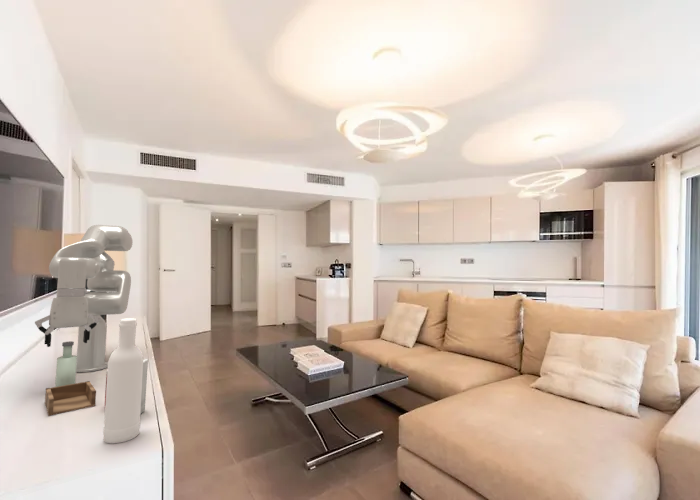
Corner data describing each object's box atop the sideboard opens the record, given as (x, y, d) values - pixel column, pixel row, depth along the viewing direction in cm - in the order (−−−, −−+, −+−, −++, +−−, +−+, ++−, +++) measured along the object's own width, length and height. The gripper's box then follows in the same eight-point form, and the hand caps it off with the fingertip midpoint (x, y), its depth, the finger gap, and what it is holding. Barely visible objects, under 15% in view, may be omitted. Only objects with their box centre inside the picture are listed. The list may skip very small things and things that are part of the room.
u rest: (44, 403, 108) (45, 388, 108) (88, 394, 115) (89, 381, 116) (48, 416, 99) (49, 399, 99) (95, 405, 107) (96, 390, 107)
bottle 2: (121, 445, 84) (128, 322, 86) (94, 441, 86) (102, 320, 87) (146, 430, 92) (152, 317, 93) (122, 427, 94) (128, 316, 95)
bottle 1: (53, 392, 116) (57, 342, 117) (73, 389, 120) (76, 340, 121) (55, 397, 113) (59, 344, 114) (75, 393, 116) (78, 342, 117)
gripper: (99, 292, 127) (96, 339, 125) (36, 293, 114) (32, 346, 113) (103, 293, 121) (100, 342, 120) (37, 294, 109) (33, 349, 108)
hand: (67, 344), depth 117 cm, fingers open, 9 cm apart
